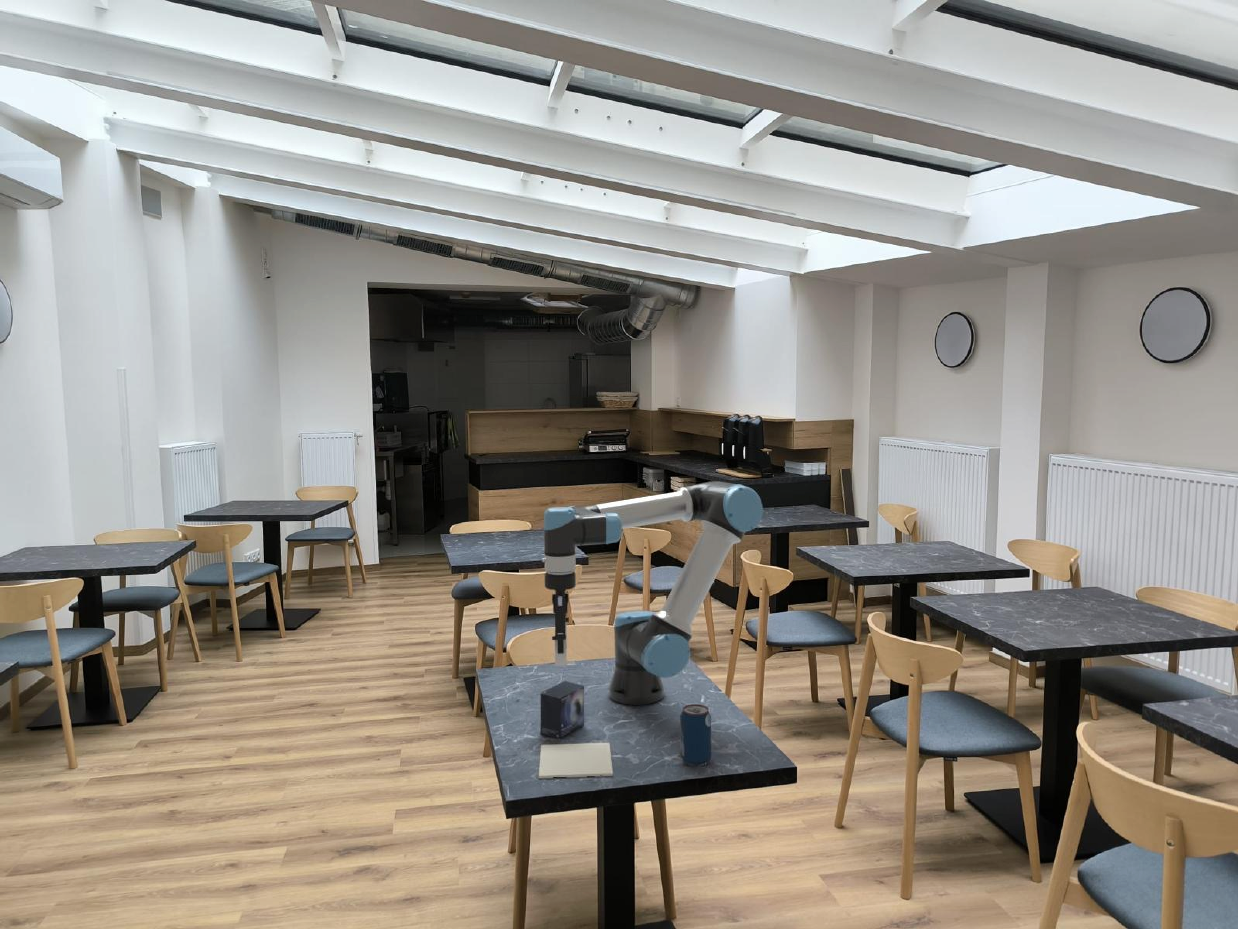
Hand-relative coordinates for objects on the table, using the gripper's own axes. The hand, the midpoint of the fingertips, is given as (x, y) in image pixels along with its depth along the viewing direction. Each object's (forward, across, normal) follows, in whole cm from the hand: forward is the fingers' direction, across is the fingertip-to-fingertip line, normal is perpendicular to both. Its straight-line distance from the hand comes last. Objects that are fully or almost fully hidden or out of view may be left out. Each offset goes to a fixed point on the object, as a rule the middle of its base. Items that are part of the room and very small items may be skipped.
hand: (561, 657), depth 205 cm
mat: (+18, +18, +3) cm, 26 cm away
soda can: (+18, +20, +30) cm, 41 cm away
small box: (+19, 0, 0) cm, 19 cm away
